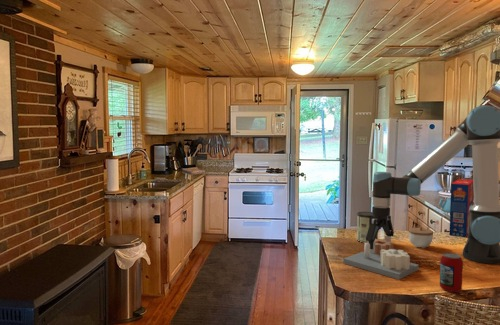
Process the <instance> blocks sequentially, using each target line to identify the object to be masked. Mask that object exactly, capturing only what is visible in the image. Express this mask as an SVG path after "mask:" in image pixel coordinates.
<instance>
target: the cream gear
mask: <svg viewBox="0 0 500 325" xmlns="http://www.w3.org/2000/svg"><path fill="white" fill-rule="evenodd" d="M392 250H393V249H389V250H384V249H382V250H380V262H381V265H382V266H385V268H387V269H391V268H395V269H396V270H401V269H409V263H411V262H410V261H411V259H410V258H411V257H410V255H409V254H408V252H405V251H404V249H397V250H398V254H392Z"/></svg>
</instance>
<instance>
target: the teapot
mask: <svg viewBox="0 0 500 325" xmlns="http://www.w3.org/2000/svg"><path fill="white" fill-rule="evenodd" d="M450 205H451V197H450V198H449V197H447V198H446V199H443V198H440V200H439V202H438V206H439V207H440V208H441V209H442V211H443V212H444V213H448V214H450Z"/></svg>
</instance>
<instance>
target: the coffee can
mask: <svg viewBox="0 0 500 325" xmlns="http://www.w3.org/2000/svg"><path fill="white" fill-rule="evenodd" d="M356 216H357V218H356V219H357V220H356V241H357V240H358V241H360V242H359V243H361V242H364V243H363V244H365V243H367V242H369V241H366V236H367V232H368V229H369V225H370V219H374V218H375V216H374V215H373V214H372V211H359V212H357V213H356ZM375 239H379V232H378V233H377V236H376V238H375ZM358 241H357V242H358Z"/></svg>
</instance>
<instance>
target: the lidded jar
mask: <svg viewBox="0 0 500 325" xmlns="http://www.w3.org/2000/svg"><path fill="white" fill-rule="evenodd" d="M408 238H409V241H410V243H411V244H412V245H414V246H416V247H415V248H417V247H422V248H421V249H425V248H424V247H427V248H428V247H429V246H430V245H431V244H432V242H433V239H434V231H433V230H431V229H428V228H423V227H422V226H420V227H411V228H409V229H408Z"/></svg>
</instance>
